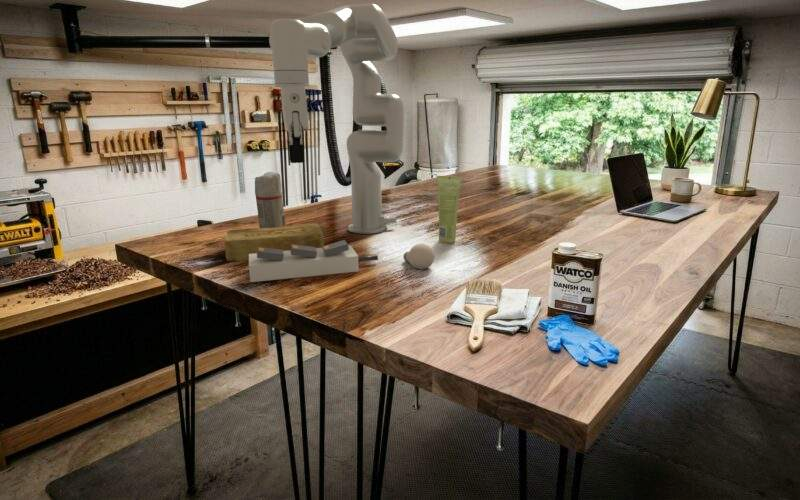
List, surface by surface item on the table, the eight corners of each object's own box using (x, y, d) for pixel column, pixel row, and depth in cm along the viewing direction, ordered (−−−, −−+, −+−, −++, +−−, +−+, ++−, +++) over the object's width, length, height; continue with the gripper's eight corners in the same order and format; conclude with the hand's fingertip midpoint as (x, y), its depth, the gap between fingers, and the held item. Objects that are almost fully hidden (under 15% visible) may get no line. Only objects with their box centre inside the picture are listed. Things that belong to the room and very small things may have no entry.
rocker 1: (281, 255, 125) (282, 249, 125) (282, 260, 122) (283, 254, 121) (256, 253, 124) (257, 246, 123) (256, 258, 120) (257, 251, 120)
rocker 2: (314, 253, 128) (315, 246, 127) (316, 257, 124) (317, 251, 124) (290, 250, 126) (291, 243, 125) (291, 254, 122) (292, 248, 122)
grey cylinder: (280, 241, 154) (274, 175, 148) (255, 239, 155) (248, 174, 149) (291, 233, 161) (286, 171, 156) (267, 232, 163) (261, 170, 157)
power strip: (373, 257, 137) (372, 242, 136) (382, 269, 128) (381, 253, 127) (250, 268, 129) (248, 253, 128) (250, 282, 120) (248, 265, 118)
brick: (228, 253, 146) (225, 229, 145) (319, 244, 153) (318, 222, 151) (225, 264, 134) (222, 238, 132) (326, 254, 140) (324, 229, 139)
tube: (451, 237, 155) (453, 174, 150) (460, 241, 151) (462, 176, 145) (435, 240, 153) (436, 175, 147) (444, 244, 149) (445, 178, 143)
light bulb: (395, 243, 133) (417, 242, 123) (417, 245, 136) (440, 243, 126) (395, 268, 133) (416, 269, 123) (416, 269, 136) (439, 269, 126)
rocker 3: (346, 245, 129) (344, 239, 129) (349, 249, 126) (347, 243, 125) (323, 252, 128) (321, 246, 128) (325, 256, 125) (323, 250, 124)
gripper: (312, 78, 108) (317, 165, 113) (305, 80, 121) (309, 158, 127) (276, 78, 106) (282, 167, 111) (273, 80, 119) (279, 159, 125)
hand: (297, 162), depth 119 cm, fingers closed
